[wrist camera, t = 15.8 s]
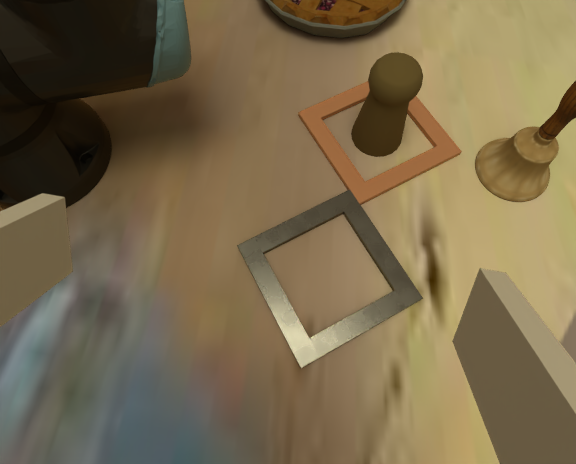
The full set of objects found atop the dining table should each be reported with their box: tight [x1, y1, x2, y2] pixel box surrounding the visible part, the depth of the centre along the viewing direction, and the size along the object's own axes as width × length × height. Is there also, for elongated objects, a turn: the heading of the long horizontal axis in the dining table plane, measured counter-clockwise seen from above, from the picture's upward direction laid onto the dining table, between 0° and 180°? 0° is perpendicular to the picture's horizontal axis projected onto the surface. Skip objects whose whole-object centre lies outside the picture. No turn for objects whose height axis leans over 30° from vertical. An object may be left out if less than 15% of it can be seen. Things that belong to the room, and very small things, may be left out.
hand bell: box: [475, 81, 576, 202], centre depth 38 cm, size 8×8×16 cm
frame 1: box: [298, 81, 462, 205], centre depth 47 cm, size 14×14×1 cm
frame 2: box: [237, 190, 423, 368], centre depth 41 cm, size 14×14×1 cm
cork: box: [351, 53, 423, 157], centre depth 43 cm, size 6×6×11 cm
